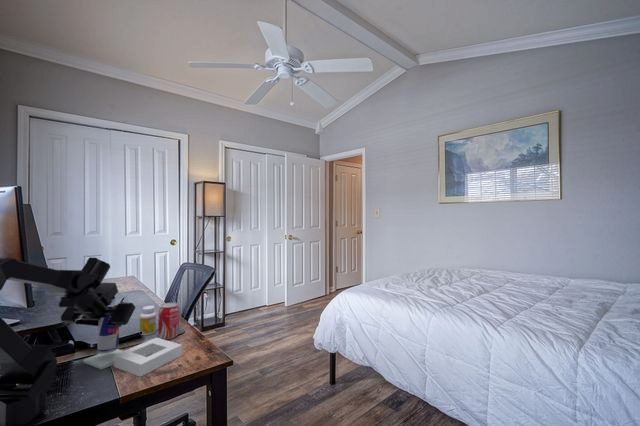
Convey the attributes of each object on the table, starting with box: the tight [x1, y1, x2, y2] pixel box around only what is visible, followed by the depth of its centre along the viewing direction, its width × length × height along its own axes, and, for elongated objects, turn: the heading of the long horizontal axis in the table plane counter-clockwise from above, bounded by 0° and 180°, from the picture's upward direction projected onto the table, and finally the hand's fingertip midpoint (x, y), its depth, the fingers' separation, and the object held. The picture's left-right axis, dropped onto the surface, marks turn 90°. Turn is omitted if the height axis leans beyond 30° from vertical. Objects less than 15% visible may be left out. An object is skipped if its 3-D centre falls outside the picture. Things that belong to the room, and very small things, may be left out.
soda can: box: [157, 301, 180, 341], centre depth 110 cm, size 7×7×12 cm
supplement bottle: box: [139, 305, 157, 336], centre depth 113 cm, size 5×5×10 cm
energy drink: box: [96, 315, 120, 354], centre depth 92 cm, size 5×5×12 cm
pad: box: [83, 348, 124, 370], centre depth 92 cm, size 9×9×1 cm
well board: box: [113, 337, 183, 377], centre depth 92 cm, size 14×12×4 cm
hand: (111, 325), depth 93 cm, fingers closed on energy drink, 5 cm apart
